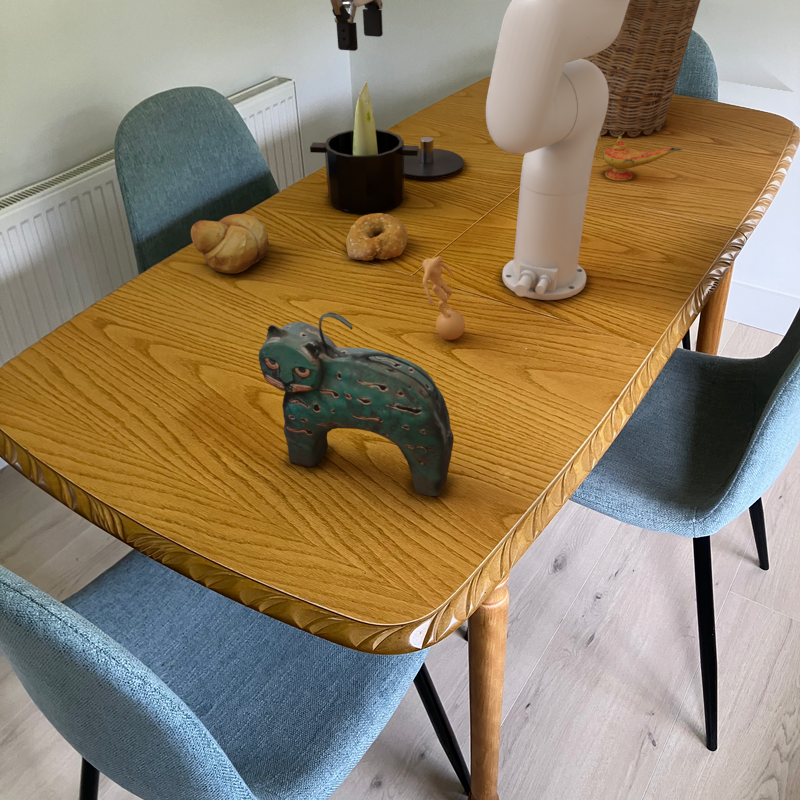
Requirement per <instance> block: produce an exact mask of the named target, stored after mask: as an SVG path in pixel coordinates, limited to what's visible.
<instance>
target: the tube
mask: <svg viewBox="0 0 800 800" xmlns="http://www.w3.org/2000/svg"><path fill="white" fill-rule="evenodd" d="M371 98H372V97H371V93H370V90H369V86H368V81H367V79H366V80H365V82H364V84H363V85H362V88H361V90H360V92H359V94H358V98H357V101H356V106H355V113H354V125H353V130H354V139H353V155H360V156H367V155H376V154H378V150H377V140H376V131H375V129H376V124H375V117H374V116H375V115H374V111H373V104H372V99H371Z"/></svg>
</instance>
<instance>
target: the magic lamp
mask: <svg viewBox="0 0 800 800" xmlns="http://www.w3.org/2000/svg"><path fill="white" fill-rule="evenodd" d="M598 141H599V142H600V143H601V144H602V145H603V146H604V147H608V148H606V149H605V150H603V149H602V148H600V147H599V146H598V144H597V145H596V149H597V150H598V151H600V152H601V153H602V157H601V158H600V159H599V158H597V156H598V154H596V155H595V159H596V161H602V160H603V161H604V162H605V163H606V164H607V165H608V166H610V167H612V168H613V169H610V170H608V171H606V172H605V174H604V175H605V177H606V178H608V179H609V180H613V181H628V180H631V179H632V178H633V174H632V173H631V172H629V171H628V169H631V168H635V167H640V166H643V165H647V164H650V163H653V162H654V161H655V162H656V161H657V160H660V159H661V158H663V157H665V156H667V155H669V154H671V153H673V152H677V151H678V152H679V151H683V149H682V148H681V147H679V146H678V147H667V148H663V149H659V150H655V151H641V150H638V149H635V148H630V147H627V145H626V143H625V142H624V141H623V136H619V137H617V140H615V141H614V142H611V143H605V142H604V141H603V140H602V136H600V135H599V138H598ZM611 146H612V147H611Z"/></svg>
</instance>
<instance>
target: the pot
mask: <svg viewBox="0 0 800 800" xmlns="http://www.w3.org/2000/svg"><path fill="white" fill-rule="evenodd" d="M375 131H376V140H377V150H378V154H376V155H367V156H360V155H353V139H354V129H349V130H346V131H342V132H341V131H340V132H338V133H334V134H333V135H331V136H329V137H328V138H327V139H326V141H325V142H315V141H313V142H312V143H311V145H309V152H310V153H312V154H313V153H316V154H317V153H318V154H324V159H325V170H326V183H327V184H326V185H327V195H328V197H327V198H328V201H329V204H330V205H331V207H332V208H334V209H336V210H337V211H340V212H343V213H347V214H351V215H363V216H365V215H369V214H375V213H382V214H384V213H386V212H389V211H393V210H394V209H396V208H398V207H399V206H400V205H402V204H403V202H404V200H405V176H404V156H417V155H418V152H419V149H420V145H409V144H408V145H406V144H405V141H404V139H403V138H402V137H401V135H399V134H396V133H395V132H393V131H389V130H383V129H377V128H375Z"/></svg>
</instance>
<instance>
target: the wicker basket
mask: <svg viewBox="0 0 800 800" xmlns="http://www.w3.org/2000/svg"><path fill="white" fill-rule="evenodd" d="M700 3H701V0H630V1H629V4H628V7H627V11H626V14H625V17H624V20H623V23H622V26H621V29H620V31H619V34H618V36H617V37H616V39H615V40H614V41H613V43H612V44H611V45H610V46H609V47H607V48H606V49H604V50H602V51H600V52H598V53H596V54H593V55H591V56H588V57H585V58H581V59H584V60H588V61H590V62H592V63H593V64H595V65H596V66H597V67H598V68H599V69H600V70H601V71H602V73H603V75H604V76H605V79H606V81H607V85H608V92H609V99H608V107H607V112H606V116H605V119H604V123H603V126H602V129H601V132H600V136H601V137H603V136H604V135H606V134H607V133H608V132H609V134H610V136H611V137H614V138H618V137H619V136H621V137H623V136H624V135H625V133H626V134H627V136H628V137H630V138H635V137H637V136H639V135H640V134H641V132H642V134H643V135H645V136H648V135H650V134H652V133H653V132H654V131H655V132H659V131H660V130H661V128H662V127H664V125H665V121H666V119H667V115H668V111H669V108H670V105H671V102H672V99H673V96H674V92H675V88H676V85H677V81H678V78H679V75H680V71H681V68H682V64H683V61H684V58H685V54H686V51H687V47H688V44H689V41H690V37H691V34H692V30H693V26H694V23H695V20H696V17H697V14H698V9H699V7H700Z"/></svg>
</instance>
